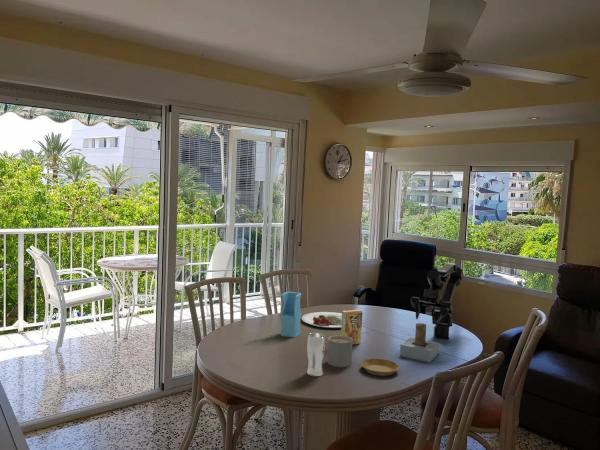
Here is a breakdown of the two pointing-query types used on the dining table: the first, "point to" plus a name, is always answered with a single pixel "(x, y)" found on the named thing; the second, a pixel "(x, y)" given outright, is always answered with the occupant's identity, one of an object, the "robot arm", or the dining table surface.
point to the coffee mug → (339, 351)
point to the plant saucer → (379, 366)
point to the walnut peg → (420, 334)
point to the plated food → (323, 319)
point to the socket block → (419, 350)
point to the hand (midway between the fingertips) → (426, 320)
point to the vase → (291, 314)
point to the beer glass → (315, 353)
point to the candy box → (352, 325)
